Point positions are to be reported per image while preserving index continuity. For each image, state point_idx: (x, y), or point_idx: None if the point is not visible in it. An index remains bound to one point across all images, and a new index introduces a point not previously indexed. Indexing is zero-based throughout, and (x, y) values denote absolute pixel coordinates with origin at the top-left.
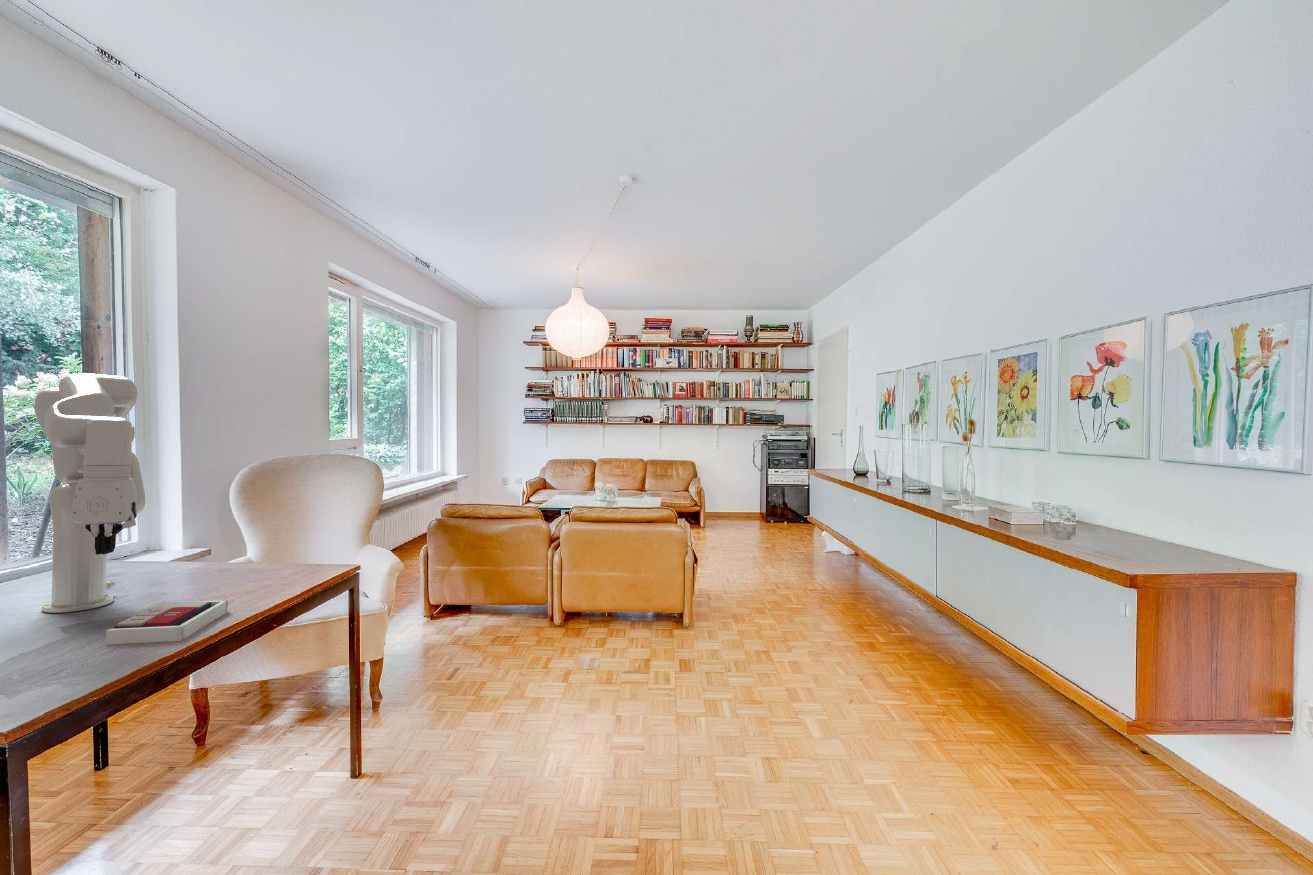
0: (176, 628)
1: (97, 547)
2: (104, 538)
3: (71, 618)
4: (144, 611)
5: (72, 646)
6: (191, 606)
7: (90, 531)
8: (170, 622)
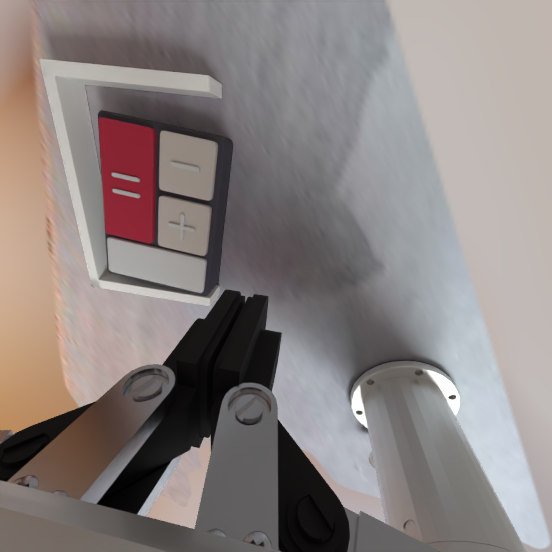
0: (53, 60)
1: (250, 314)
2: (183, 350)
3: (382, 321)
4: (202, 228)
5: (290, 92)
6: (124, 243)
7: (298, 455)
8: (99, 124)
